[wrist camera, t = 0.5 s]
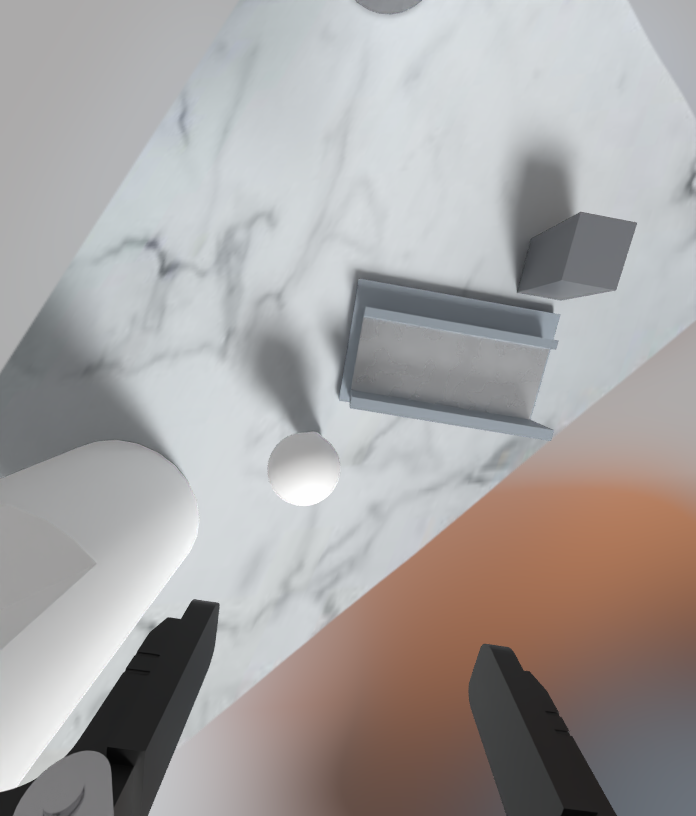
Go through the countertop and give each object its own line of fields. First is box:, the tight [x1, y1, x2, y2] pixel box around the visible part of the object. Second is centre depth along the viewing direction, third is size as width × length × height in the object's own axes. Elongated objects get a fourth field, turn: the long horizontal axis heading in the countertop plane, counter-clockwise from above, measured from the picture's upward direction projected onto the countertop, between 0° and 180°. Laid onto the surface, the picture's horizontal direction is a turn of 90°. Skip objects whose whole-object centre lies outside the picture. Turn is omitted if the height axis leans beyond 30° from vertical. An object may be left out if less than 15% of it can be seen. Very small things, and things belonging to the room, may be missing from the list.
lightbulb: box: [267, 432, 340, 506], centre depth 31 cm, size 6×6×11 cm
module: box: [517, 212, 637, 300], centre depth 29 cm, size 5×4×7 cm
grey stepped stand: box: [339, 278, 560, 441], centre depth 31 cm, size 12×20×6 cm, turn 80°
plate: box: [351, 317, 550, 420], centre depth 33 cm, size 7×18×2 cm, turn 80°
